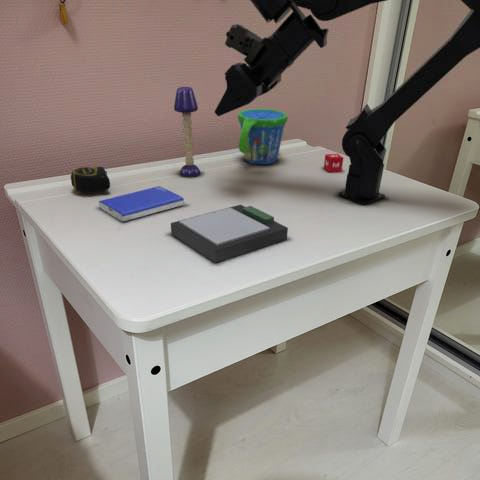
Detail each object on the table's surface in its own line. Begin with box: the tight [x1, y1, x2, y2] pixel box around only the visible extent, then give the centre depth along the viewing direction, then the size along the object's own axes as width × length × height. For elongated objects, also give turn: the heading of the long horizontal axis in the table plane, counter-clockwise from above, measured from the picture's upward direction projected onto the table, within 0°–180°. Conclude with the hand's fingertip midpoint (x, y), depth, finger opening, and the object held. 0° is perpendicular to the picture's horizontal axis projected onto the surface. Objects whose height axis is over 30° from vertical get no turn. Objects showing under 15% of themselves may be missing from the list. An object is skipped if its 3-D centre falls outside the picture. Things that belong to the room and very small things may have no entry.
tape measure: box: [70, 166, 111, 194], centre depth 92 cm, size 7×7×4 cm
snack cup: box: [237, 108, 288, 166], centre depth 109 cm, size 16×10×10 cm
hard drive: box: [98, 185, 185, 222], centre depth 87 cm, size 2×8×12 cm
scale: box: [170, 204, 289, 264], centre depth 77 cm, size 14×12×3 cm
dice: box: [323, 153, 344, 173], centre depth 107 cm, size 3×3×3 cm
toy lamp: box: [173, 86, 201, 178], centre depth 98 cm, size 5×5×17 cm
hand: (224, 109), depth 93 cm, fingers open, 9 cm apart
